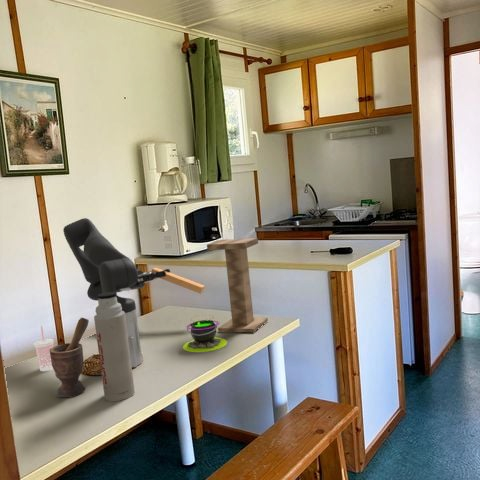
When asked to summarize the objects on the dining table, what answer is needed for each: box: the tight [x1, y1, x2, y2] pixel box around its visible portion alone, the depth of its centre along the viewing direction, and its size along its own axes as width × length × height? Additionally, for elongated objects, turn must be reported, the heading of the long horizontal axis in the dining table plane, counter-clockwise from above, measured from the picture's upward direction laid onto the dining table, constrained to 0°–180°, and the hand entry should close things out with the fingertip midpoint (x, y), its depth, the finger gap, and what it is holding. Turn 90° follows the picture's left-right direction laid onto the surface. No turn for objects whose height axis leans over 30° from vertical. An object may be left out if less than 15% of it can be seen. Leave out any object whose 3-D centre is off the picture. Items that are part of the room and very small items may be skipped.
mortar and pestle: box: [50, 317, 89, 398], centre depth 150 cm, size 12×9×20 cm
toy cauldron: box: [182, 313, 228, 353], centre depth 181 cm, size 15×15×11 cm
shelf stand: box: [206, 237, 269, 333], centre depth 197 cm, size 16×14×32 cm
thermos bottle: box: [93, 292, 136, 402], centre depth 143 cm, size 8×8×28 cm
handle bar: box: [151, 266, 206, 294], centre depth 208 cm, size 22×3×2 cm, turn 69°
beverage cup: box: [33, 326, 55, 372], centre depth 172 cm, size 6×6×14 cm
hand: (167, 272), depth 209 cm, fingers closed on handle bar, 3 cm apart
